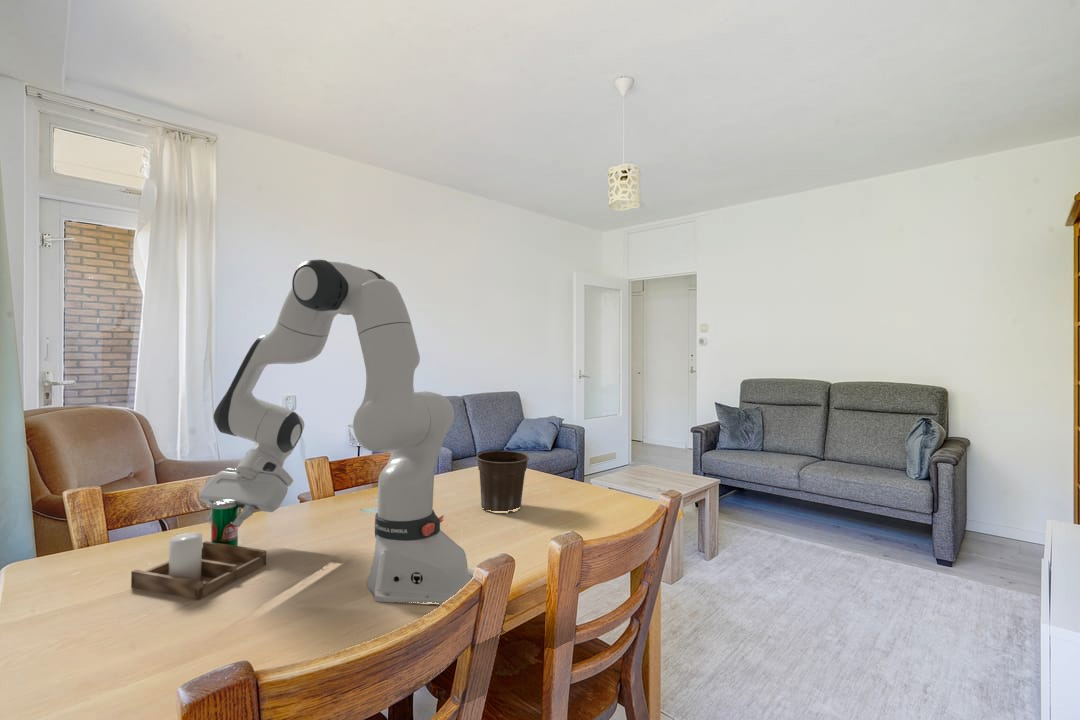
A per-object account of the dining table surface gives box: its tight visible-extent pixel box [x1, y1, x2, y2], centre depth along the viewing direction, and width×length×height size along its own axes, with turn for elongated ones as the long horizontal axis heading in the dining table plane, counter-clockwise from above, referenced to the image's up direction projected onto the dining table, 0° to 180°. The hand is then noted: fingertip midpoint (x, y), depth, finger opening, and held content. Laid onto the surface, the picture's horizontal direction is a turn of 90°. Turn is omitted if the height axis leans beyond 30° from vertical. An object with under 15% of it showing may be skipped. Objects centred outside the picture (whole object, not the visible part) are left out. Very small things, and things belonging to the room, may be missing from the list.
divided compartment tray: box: [130, 540, 267, 601], centre depth 100 cm, size 16×16×4 cm
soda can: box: [210, 499, 239, 546], centre depth 111 cm, size 5×5×12 cm
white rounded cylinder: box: [168, 532, 203, 581], centre depth 96 cm, size 5×5×9 cm
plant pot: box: [476, 450, 530, 511], centre depth 152 cm, size 16×16×16 cm
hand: (222, 524), depth 111 cm, fingers closed on soda can, 5 cm apart
